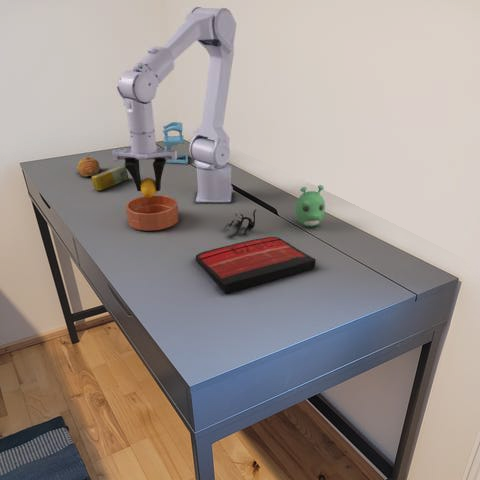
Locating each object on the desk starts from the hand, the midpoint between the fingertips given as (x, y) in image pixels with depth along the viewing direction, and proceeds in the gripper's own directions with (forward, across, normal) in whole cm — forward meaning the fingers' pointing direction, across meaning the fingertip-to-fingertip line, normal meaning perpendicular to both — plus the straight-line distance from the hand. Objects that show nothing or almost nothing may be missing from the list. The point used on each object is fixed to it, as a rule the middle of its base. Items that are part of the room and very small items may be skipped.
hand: (149, 189), depth 116 cm
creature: (+8, +22, -6) cm, 24 cm away
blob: (+1, 0, 0) cm, 1 cm away
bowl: (+8, 0, 0) cm, 8 cm away
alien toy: (+8, +39, -3) cm, 40 cm away
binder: (+8, +25, -22) cm, 35 cm away
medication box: (+8, -16, +26) cm, 31 cm away
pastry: (+7, -26, +36) cm, 45 cm away
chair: (+8, 0, +49) cm, 49 cm away
